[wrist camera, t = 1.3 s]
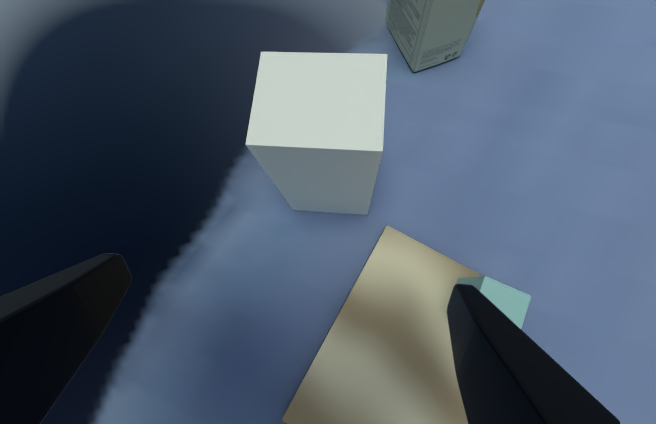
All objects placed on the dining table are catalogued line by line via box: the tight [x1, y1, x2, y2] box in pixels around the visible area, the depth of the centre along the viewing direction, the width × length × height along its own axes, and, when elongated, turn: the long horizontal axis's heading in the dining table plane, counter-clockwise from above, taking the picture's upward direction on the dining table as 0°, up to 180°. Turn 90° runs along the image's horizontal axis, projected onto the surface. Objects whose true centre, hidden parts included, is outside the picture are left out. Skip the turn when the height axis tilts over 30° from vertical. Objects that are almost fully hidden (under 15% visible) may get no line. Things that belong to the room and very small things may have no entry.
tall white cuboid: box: [246, 52, 387, 215], centre depth 17 cm, size 4×6×10 cm
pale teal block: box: [446, 276, 531, 329], centre depth 17 cm, size 2×2×4 cm
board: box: [282, 225, 482, 424], centre depth 19 cm, size 14×10×1 cm
